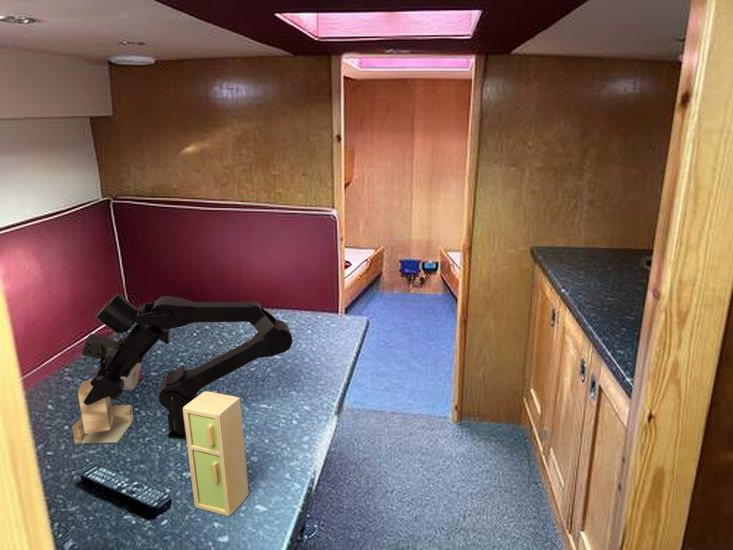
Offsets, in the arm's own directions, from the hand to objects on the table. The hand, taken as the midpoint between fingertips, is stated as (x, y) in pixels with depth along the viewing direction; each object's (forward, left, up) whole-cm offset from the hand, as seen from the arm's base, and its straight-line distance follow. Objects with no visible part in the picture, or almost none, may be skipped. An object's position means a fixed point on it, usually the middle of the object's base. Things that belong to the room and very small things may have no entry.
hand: (88, 397), depth 121 cm
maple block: (-1, -1, -7) cm, 7 cm away
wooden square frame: (+1, -5, -11) cm, 13 cm away
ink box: (+9, -28, -12) cm, 32 cm away
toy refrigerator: (-36, +14, -12) cm, 40 cm away
